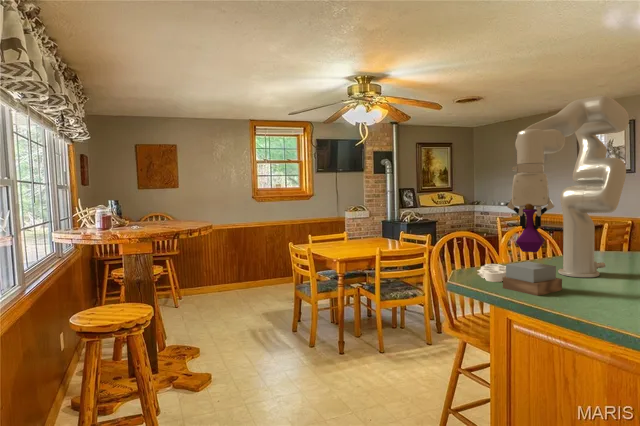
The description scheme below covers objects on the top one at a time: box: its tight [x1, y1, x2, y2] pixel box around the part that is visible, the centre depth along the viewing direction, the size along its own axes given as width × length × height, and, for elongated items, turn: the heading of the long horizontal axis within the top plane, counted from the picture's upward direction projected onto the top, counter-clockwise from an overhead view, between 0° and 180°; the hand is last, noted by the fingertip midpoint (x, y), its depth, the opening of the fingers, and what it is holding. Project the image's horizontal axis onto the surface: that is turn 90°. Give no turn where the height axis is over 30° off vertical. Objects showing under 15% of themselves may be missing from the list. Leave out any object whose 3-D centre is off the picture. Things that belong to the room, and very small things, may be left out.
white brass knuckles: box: [477, 263, 506, 283], centre depth 156 cm, size 3×18×15 cm
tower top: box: [505, 261, 557, 283], centre depth 136 cm, size 10×10×4 cm
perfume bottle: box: [515, 204, 546, 253], centre depth 136 cm, size 8×8×18 cm
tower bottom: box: [502, 277, 563, 297], centre depth 137 cm, size 12×12×4 cm
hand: (530, 228), depth 137 cm, fingers closed on perfume bottle, 3 cm apart
